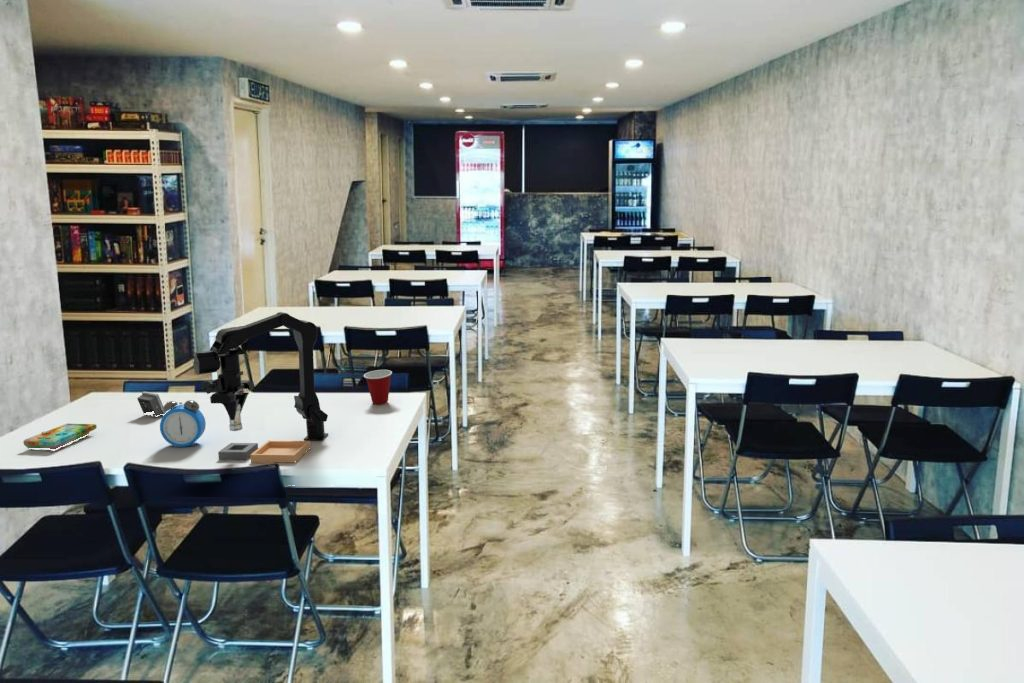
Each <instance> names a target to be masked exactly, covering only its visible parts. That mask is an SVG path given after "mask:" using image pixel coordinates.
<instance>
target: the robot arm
mask: <svg viewBox="0 0 1024 683" xmlns="http://www.w3.org/2000/svg"><path fill="white" fill-rule="evenodd" d="M280 327H285V328H286V329H289V330H290V331H292V332H293V337H294V341H295V342H296V346H297V348H298V366H299V368H298V369H299V387H300V389H299V392H298V395H294V396H293V399H294V406H293V407H294V408H295V409H296V412H297V413H298V414H299V415H301V417H302V418H303V419H304V420H305V422H306V424H305V425H306V436H305V437H304V438H303V441H323V440H324V439H326V438H327V437H328V436H329V432H328V433H326V432H325V422H327V421H328V418H329V415H328V414H327V413H326V412H325V411H323V409H321V405H320V404H321V403H320V400H319V397H318V395H317V393H316V390H315V365H314V364H315V362H314V347H315V345H316V342H317V337H318V327H317V325H316V324H315V323H313V322H311V321H307V320H305V319H304V320H302V319H299V318H296V317H294V316H292V315H291V314H289V313H287V312H282V311H279V312H277V313H275V314H272V315H269V316H267V317H264V318H262V319H259V320H256V321H254V322H251V323H249V324H245V325H240V326H234V327H233V326H232V327H226V328H221V329H220V330H218V331H216V332H217V333H216V335H215V340H214V342H213V343H212V345H211V347H210V348H209V350H207V351H196V352H194V355H195V356H194V358H193V362H192V363H193V369H194V372H195V375H197V376H199V375H205V374H207V375H208V374H212V373H217V372H218V371H219V370H220V373H219V374H218V375H217V378H216V379H213V380H210V379H208V380H205V381H203V382H202V391H203V392H206V394H207V395H209V394H211V393H212V392H214V393H213V394H211V395H210V397H209V399H210V404H222V405H223V406H224V409H225V411H226V412H227V414H228V418H229V417H230V419H231V420H234V419H235V416H236V411H237V406H238V403H240V407H241V409H240V415H241V413H242V411H243V409H244V408H243V407H244V405H245V403H246V400H247V398H248V395H249V394H250V393H249V392H246V391H245V390H248V391H252V390H254V389H255V386H254V385H255V384H254V382H253V381H252V380H251V379H250V380H249V379H247V380H246V379H245V380H242V376H243V375H244V371H243V370H241V362H240V355H245V354H246V353H247V352H246V351H245V350H244V349H242V348H241V346H242V345H243V344H244V343H246V342H247V341H248V340H250V339H252V338H254V337H257V336H260V335H261V334H265V333H267V332H270V331H273V330H275V329H279V328H280ZM327 435H328V436H327Z"/></svg>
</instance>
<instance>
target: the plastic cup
mask: <svg viewBox="0 0 1024 683" xmlns="http://www.w3.org/2000/svg"><path fill="white" fill-rule="evenodd" d="M392 374H393V371H392V370H389V369H377V370H376V369H375V370H371V371H368V372H366V373H364V374H363V377H364V379H365V380H366V383H367V387H368V391H369V395H370V398H371V403H372V405H375V404H376V405H378V406H381V404H382V405H386V404H388V401H389V394H390V385H391V378H392V377H391V376H392Z"/></svg>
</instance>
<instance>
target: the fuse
mask: <svg viewBox="0 0 1024 683" xmlns="http://www.w3.org/2000/svg"><path fill="white" fill-rule="evenodd" d="M240 409H241V407H240V403H238V406H237V411H236V416H235V419H234V420H231V419H230V417H229V416H228V418H229V426H228V427H229V431H231V432H237V431H242V430H243V423H242V416H241V414H240Z"/></svg>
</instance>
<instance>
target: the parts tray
mask: <svg viewBox="0 0 1024 683" xmlns="http://www.w3.org/2000/svg"><path fill="white" fill-rule="evenodd" d="M310 447H311V440H267V441H266V442H264V444H262V445H261V446H260V447H258V449H257V450H256V451H255V452H253V453H252V454H251V455H250V456H251V457H250V463H252V464H253V463H256V464H258V463H261V464H267V463H268V464H269V463H271V464H273V463H274V462H295V461H297V460H298V459H299V458H300V457H301V456H302V455H303V454H304V453H305V452H306V451H307V450H308V449H309V448H310ZM308 451H309V450H308ZM308 451H307V452H308ZM307 452H306V453H307ZM306 453H305V454H306ZM305 454H304V455H305ZM304 455H303V456H304ZM303 456H302V457H303ZM302 457H301V458H302ZM301 458H300V459H301ZM300 459H299V460H300ZM299 460H298V461H299ZM298 461H297V462H298ZM274 464H275V463H274Z"/></svg>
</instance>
